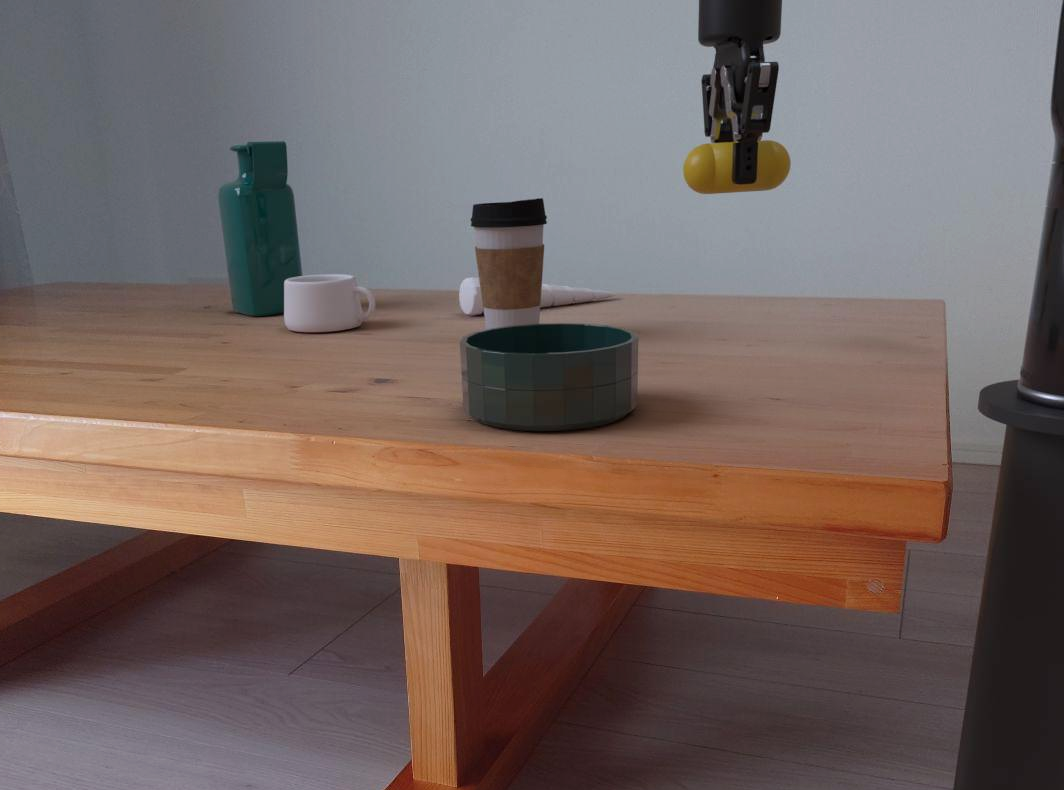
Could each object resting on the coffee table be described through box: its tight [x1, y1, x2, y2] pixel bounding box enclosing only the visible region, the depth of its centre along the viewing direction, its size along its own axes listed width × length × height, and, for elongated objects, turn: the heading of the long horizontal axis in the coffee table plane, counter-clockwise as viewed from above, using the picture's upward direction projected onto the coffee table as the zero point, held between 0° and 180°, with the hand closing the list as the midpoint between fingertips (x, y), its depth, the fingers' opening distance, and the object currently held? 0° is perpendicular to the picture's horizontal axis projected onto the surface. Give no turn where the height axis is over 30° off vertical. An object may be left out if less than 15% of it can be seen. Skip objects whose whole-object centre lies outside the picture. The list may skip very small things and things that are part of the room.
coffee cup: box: [470, 197, 548, 330], centre depth 112 cm, size 8×8×15 cm
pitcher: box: [217, 140, 303, 317], centre depth 136 cm, size 10×8×22 cm
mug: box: [283, 273, 376, 333], centre depth 124 cm, size 12×10×6 cm
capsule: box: [682, 139, 792, 195], centre depth 98 cm, size 11×5×5 cm
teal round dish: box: [459, 322, 639, 432], centre depth 81 cm, size 14×14×6 cm
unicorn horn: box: [458, 276, 617, 317], centre depth 135 cm, size 5×24×5 cm, turn 116°
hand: (733, 182), depth 98 cm, fingers closed on capsule, 4 cm apart
